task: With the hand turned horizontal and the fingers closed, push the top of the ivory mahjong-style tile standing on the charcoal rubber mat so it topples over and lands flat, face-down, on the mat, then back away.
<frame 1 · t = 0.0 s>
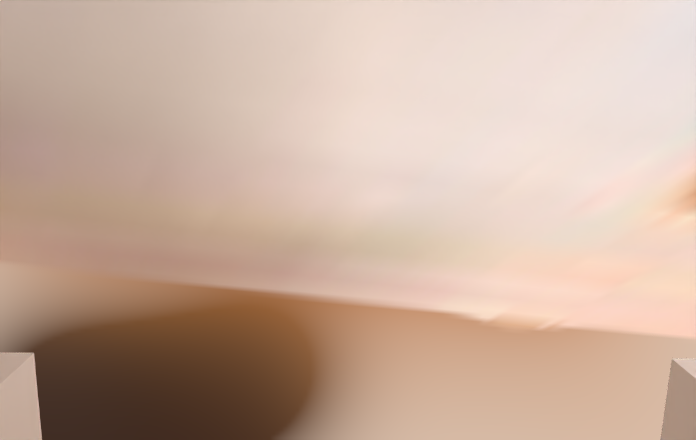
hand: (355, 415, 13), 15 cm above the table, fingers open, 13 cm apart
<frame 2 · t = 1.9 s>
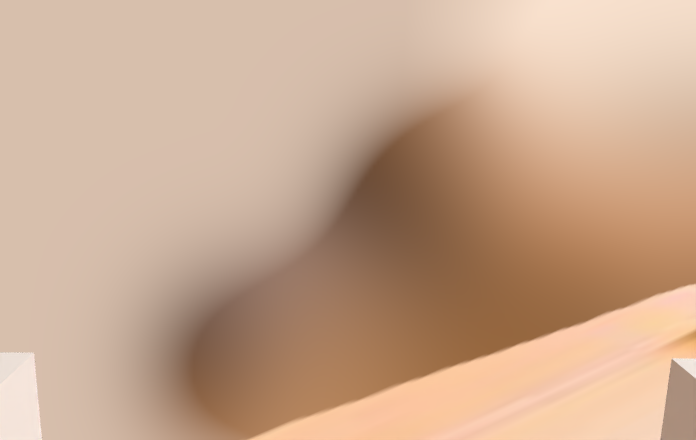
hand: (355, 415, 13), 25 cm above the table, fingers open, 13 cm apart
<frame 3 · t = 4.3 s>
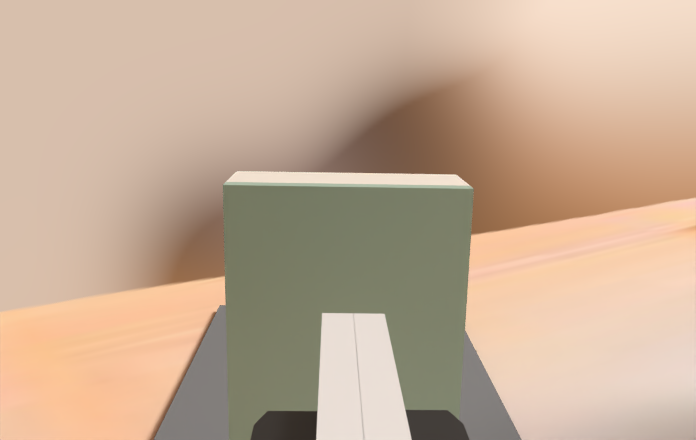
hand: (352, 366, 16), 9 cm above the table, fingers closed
mat: (338, 397, 33), on the table
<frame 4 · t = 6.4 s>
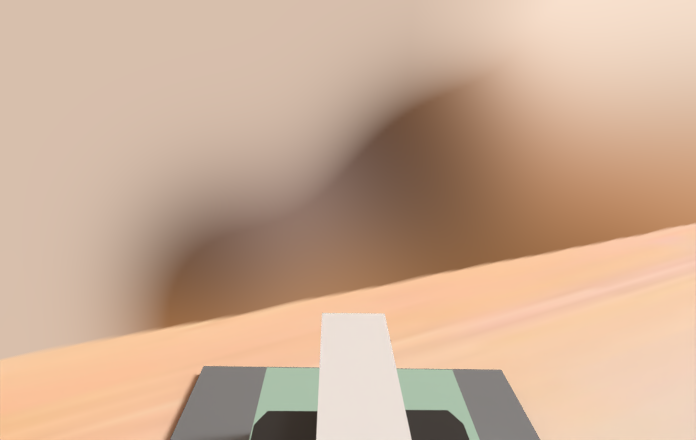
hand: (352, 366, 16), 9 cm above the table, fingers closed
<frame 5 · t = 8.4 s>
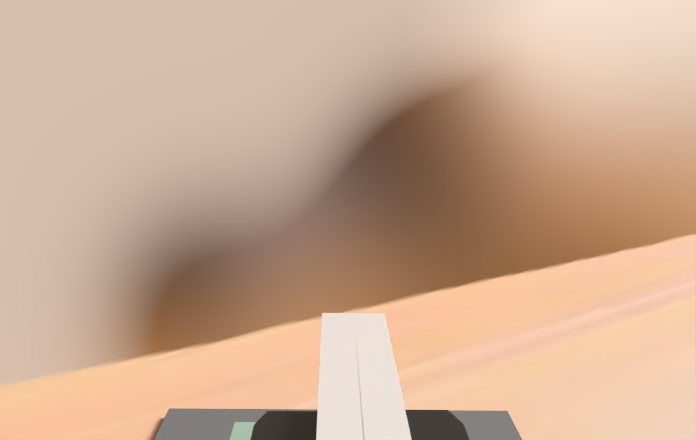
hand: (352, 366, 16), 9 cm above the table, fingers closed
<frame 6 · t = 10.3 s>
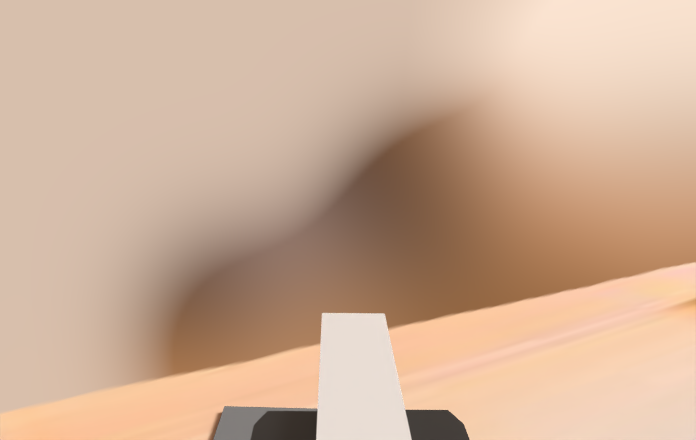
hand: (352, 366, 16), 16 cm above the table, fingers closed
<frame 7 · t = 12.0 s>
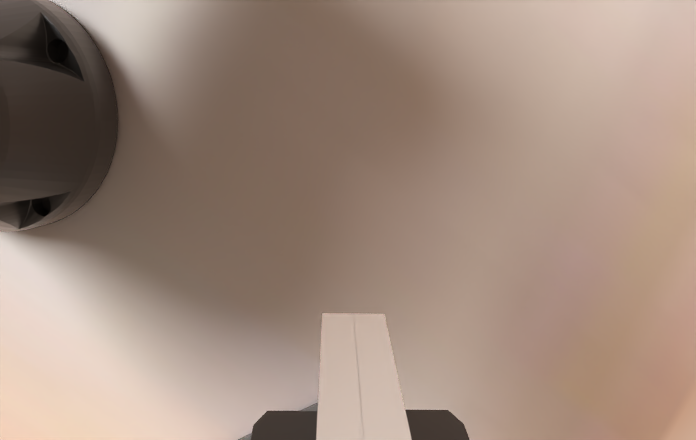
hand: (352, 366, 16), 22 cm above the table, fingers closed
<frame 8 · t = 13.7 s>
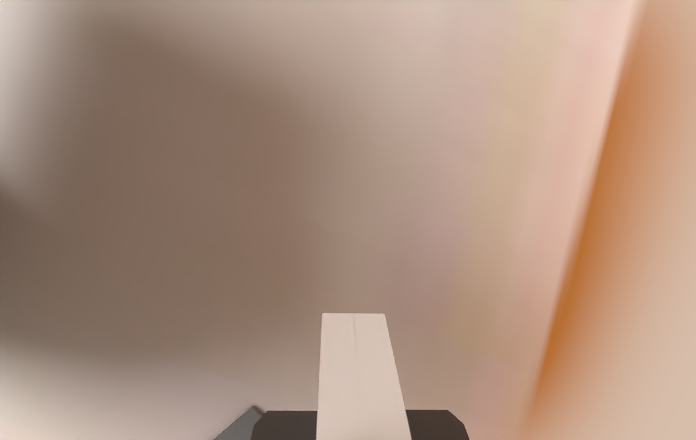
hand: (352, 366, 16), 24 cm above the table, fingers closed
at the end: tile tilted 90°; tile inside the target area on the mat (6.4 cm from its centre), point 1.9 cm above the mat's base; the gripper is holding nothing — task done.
